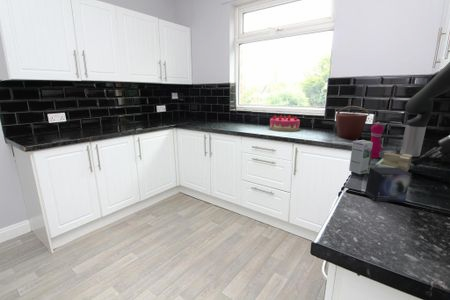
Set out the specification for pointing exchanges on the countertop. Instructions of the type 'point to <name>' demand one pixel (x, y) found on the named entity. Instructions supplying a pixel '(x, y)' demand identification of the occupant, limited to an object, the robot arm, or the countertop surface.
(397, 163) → the tee block
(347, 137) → the bucket
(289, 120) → the cake
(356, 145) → the syrup box
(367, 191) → the small box
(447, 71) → the robot arm
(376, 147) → the pepper mill
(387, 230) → the countertop surface
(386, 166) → the pocket
